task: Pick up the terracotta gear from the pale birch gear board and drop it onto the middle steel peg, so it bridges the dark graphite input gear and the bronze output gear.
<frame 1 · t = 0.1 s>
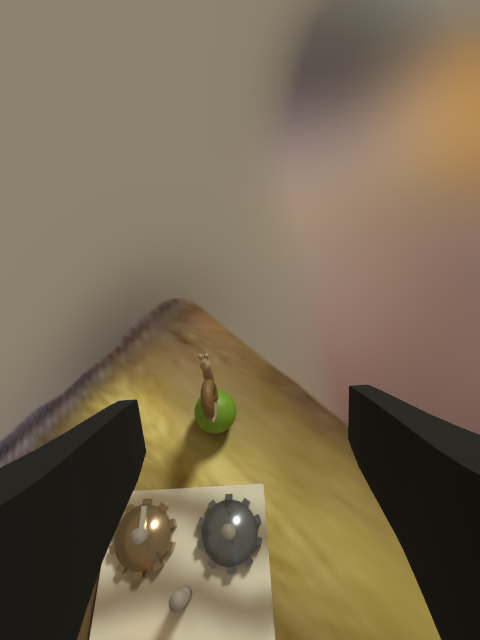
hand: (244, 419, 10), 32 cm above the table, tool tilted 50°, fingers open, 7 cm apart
snail figurine: (218, 414, 43), on the table
output gear: (145, 536, 35), resting on gear board
gear board: (185, 597, 32), on the table
input gear: (230, 531, 34), resting on gear board
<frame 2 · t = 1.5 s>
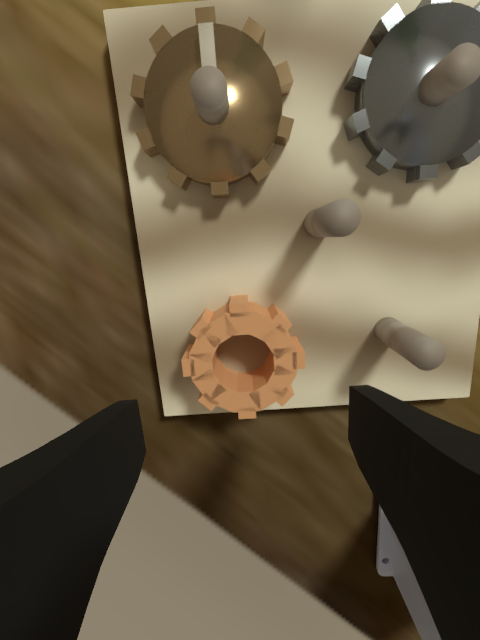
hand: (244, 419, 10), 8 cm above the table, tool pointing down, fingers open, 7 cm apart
idler gear: (243, 347, 17), point 1 cm above the table, touching gear board
output gear: (215, 117, 15), resting on gear board
gear board: (307, 232, 17), on the table
input gear: (419, 100, 14), resting on gear board
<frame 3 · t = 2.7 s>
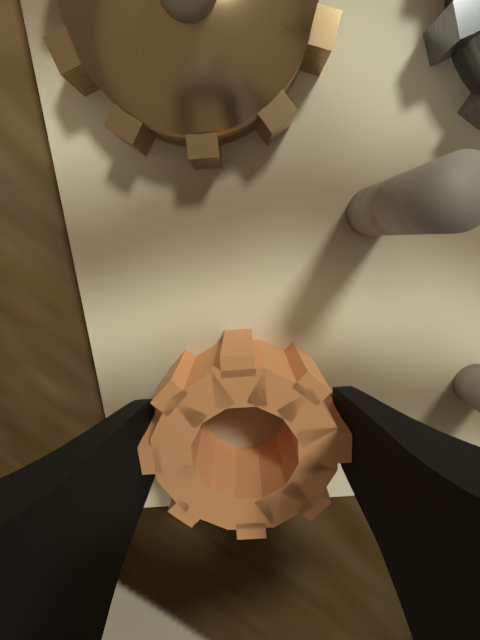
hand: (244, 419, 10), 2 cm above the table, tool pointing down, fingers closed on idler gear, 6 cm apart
idler gear: (244, 409, 11), point 1 cm above the table, touching gear board, gripper
output gear: (195, 22, 8), resting on gear board
gear board: (348, 227, 11), on the table
when the fingers open (3 cm above the table, at t = 6.3 s): idler gear drops 1 cm, resting on gear board.
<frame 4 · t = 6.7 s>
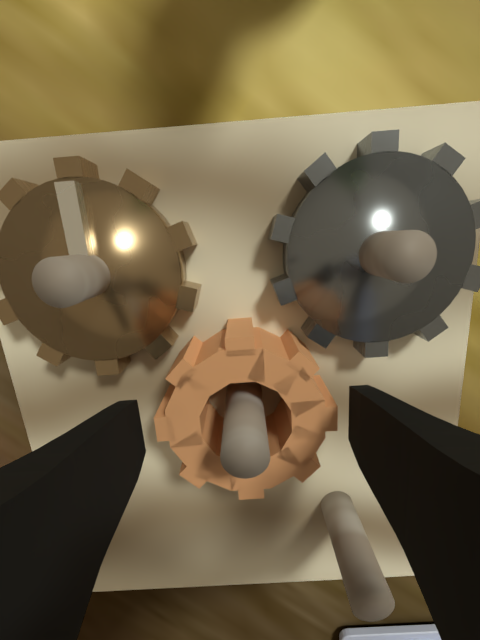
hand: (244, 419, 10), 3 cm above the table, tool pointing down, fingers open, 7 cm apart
idler gear: (245, 389, 13), point 1 cm above the table, touching gear board
output gear: (104, 271, 11), resting on gear board
gear board: (238, 385, 14), on the table
input gear: (366, 252, 11), resting on gear board
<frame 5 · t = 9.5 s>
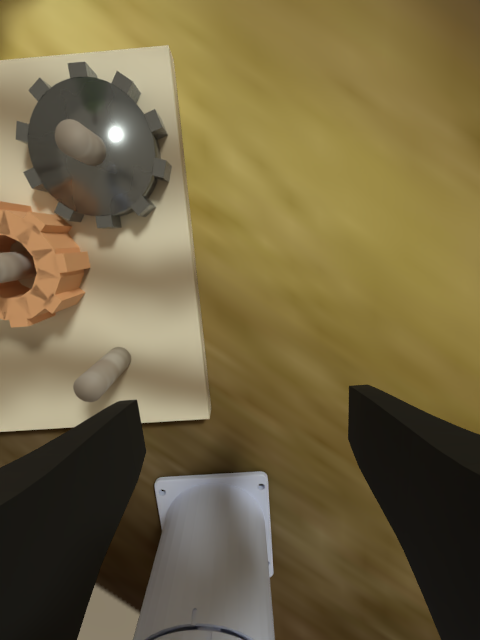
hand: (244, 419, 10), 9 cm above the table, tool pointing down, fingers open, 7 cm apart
idler gear: (36, 263, 17), point 1 cm above the table, touching gear board
gear board: (45, 269, 19), on the table
input gear: (102, 156, 16), resting on gear board
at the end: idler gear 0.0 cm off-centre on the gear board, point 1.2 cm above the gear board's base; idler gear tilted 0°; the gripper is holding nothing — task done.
